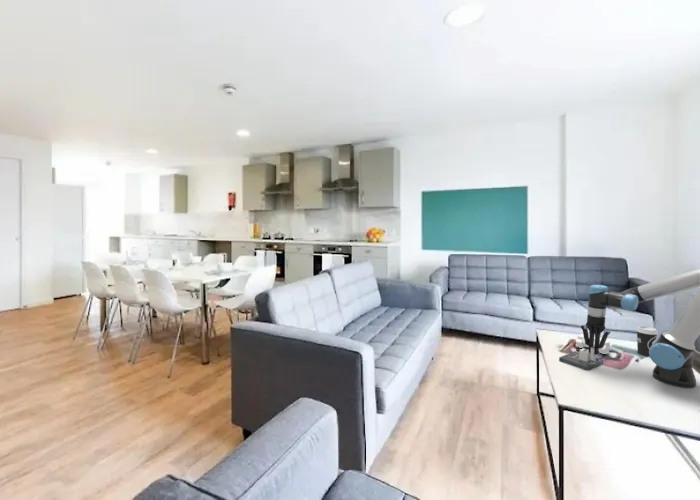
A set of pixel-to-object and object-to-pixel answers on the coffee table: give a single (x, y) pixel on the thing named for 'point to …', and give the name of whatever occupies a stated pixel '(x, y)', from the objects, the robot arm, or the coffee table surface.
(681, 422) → the coffee table surface
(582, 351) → the block
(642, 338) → the coffee cup
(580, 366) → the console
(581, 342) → the bone shaped toy
